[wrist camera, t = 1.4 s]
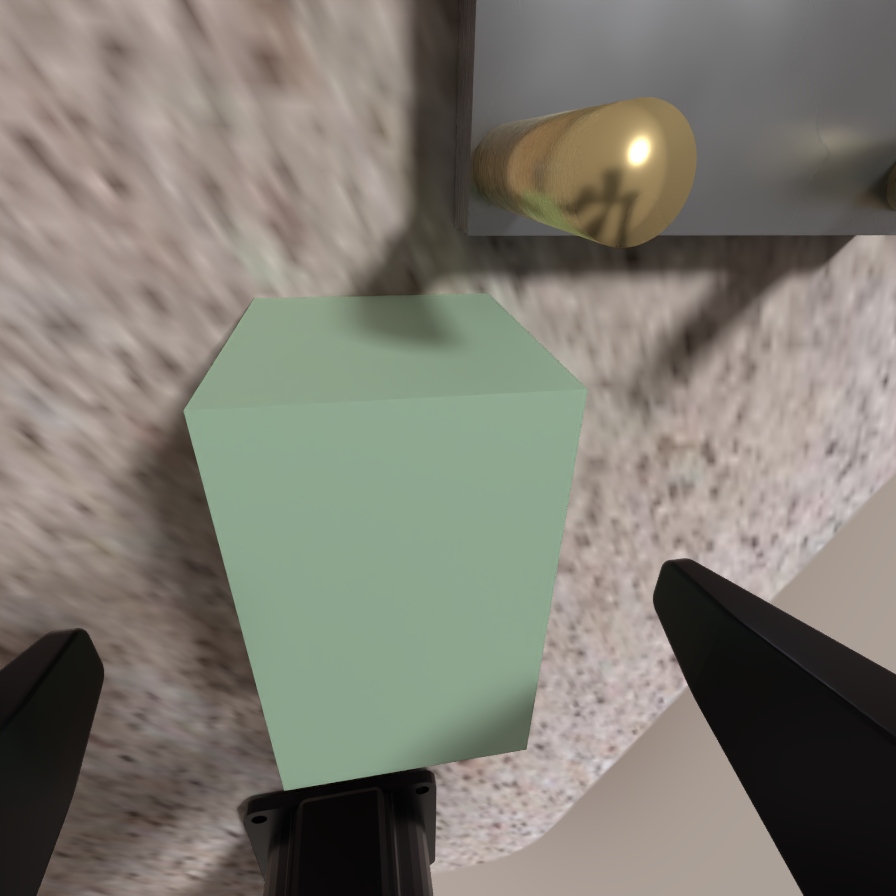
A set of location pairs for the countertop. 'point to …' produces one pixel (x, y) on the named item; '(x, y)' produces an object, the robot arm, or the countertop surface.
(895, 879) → the robot arm
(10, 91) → the countertop surface
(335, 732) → the light green block
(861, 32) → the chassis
